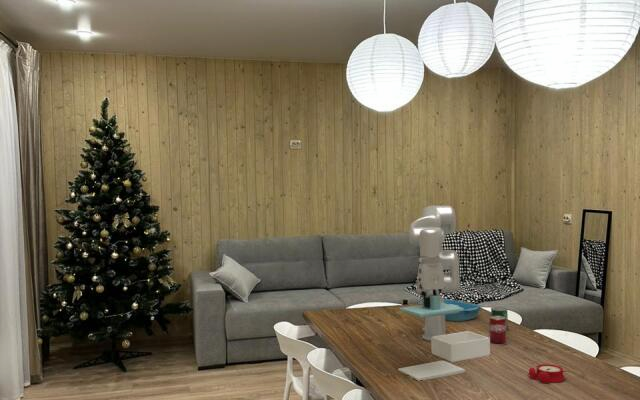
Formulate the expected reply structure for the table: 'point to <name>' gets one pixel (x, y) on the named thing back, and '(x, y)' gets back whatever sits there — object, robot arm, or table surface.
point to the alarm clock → (547, 373)
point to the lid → (432, 308)
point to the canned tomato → (500, 313)
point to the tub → (460, 346)
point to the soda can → (498, 330)
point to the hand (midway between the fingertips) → (431, 306)
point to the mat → (431, 370)
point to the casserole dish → (466, 314)
